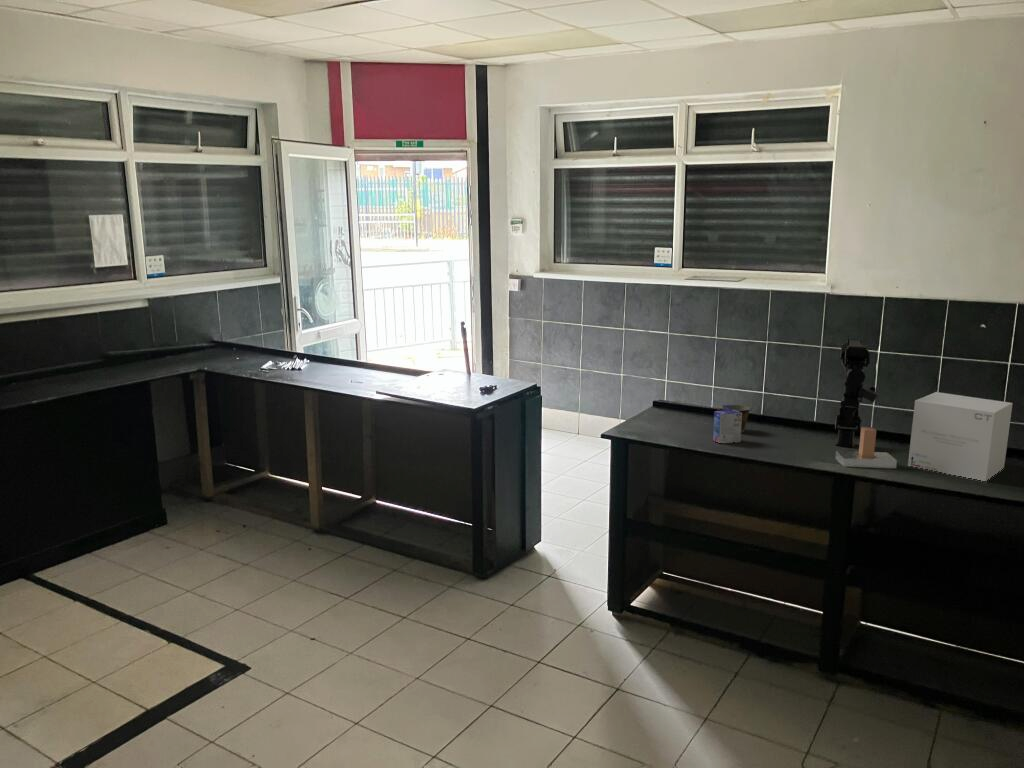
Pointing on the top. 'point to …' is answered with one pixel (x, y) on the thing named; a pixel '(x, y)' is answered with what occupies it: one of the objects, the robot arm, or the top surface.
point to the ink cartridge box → (727, 425)
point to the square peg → (867, 442)
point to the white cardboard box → (960, 435)
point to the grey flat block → (865, 460)
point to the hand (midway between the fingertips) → (850, 420)
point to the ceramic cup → (744, 413)
